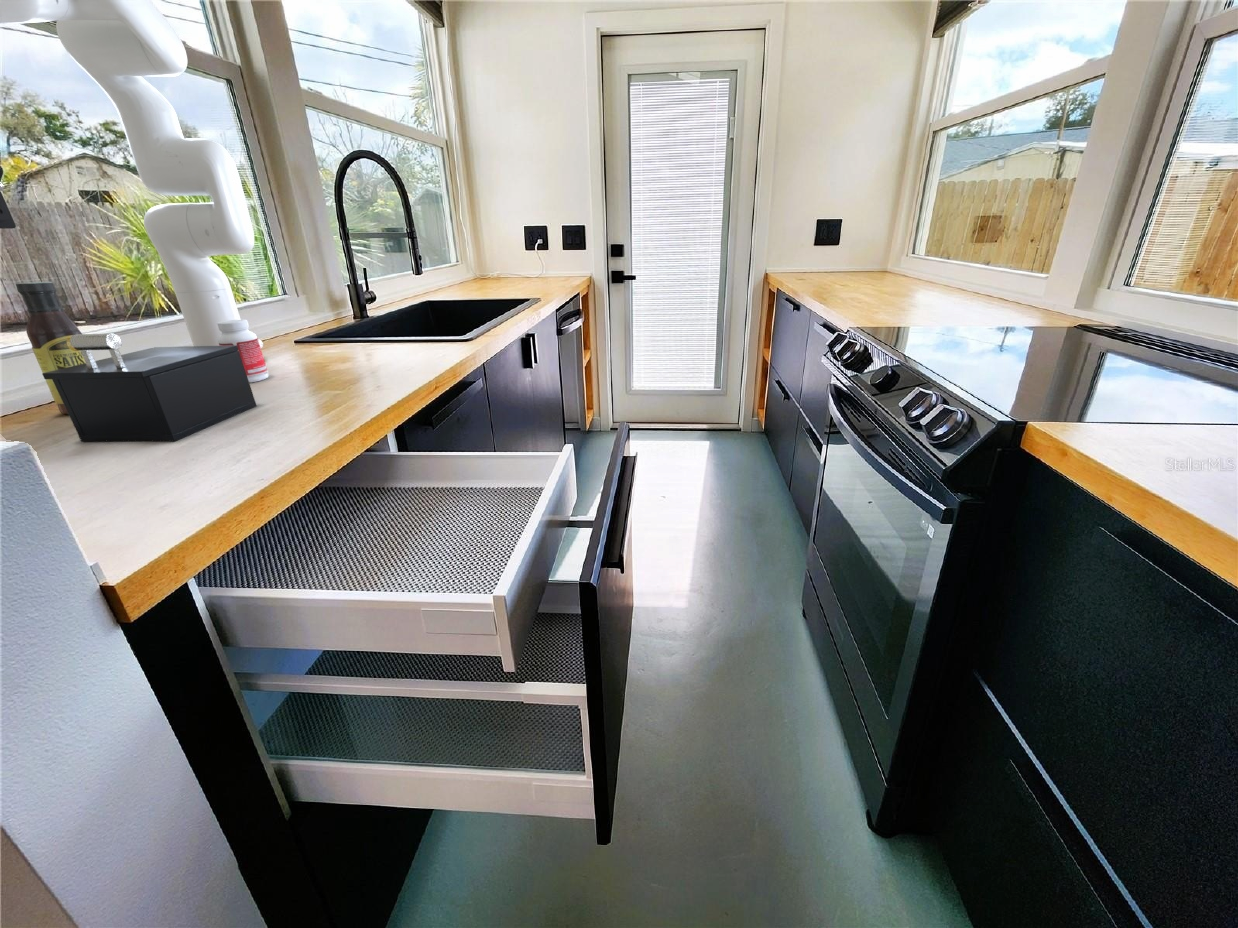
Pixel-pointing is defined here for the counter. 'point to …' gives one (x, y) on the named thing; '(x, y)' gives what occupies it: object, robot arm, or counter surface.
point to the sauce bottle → (49, 332)
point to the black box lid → (131, 358)
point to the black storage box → (158, 401)
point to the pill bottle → (244, 347)
